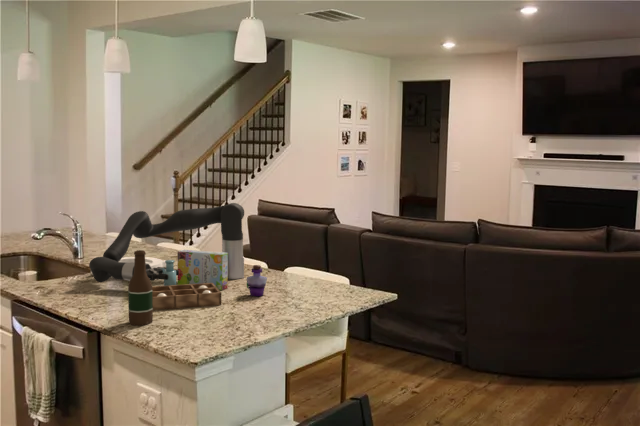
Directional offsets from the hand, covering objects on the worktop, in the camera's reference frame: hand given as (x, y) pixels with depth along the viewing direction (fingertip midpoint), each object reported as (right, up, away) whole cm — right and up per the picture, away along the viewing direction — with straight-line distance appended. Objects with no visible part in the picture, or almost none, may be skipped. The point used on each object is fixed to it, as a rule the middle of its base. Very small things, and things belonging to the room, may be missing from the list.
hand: (173, 274), depth 237 cm
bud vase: (-2, -7, +1) cm, 8 cm away
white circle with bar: (-29, -3, +41) cm, 50 cm away
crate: (+7, -9, -12) cm, 16 cm away
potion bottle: (+33, -8, 0) cm, 34 cm away
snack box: (+9, -7, +13) cm, 17 cm away
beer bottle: (-1, -12, -39) cm, 41 cm away
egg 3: (+16, -8, -13) cm, 22 cm away
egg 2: (+13, -8, -5) cm, 16 cm away
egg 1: (0, -9, -19) cm, 21 cm away
